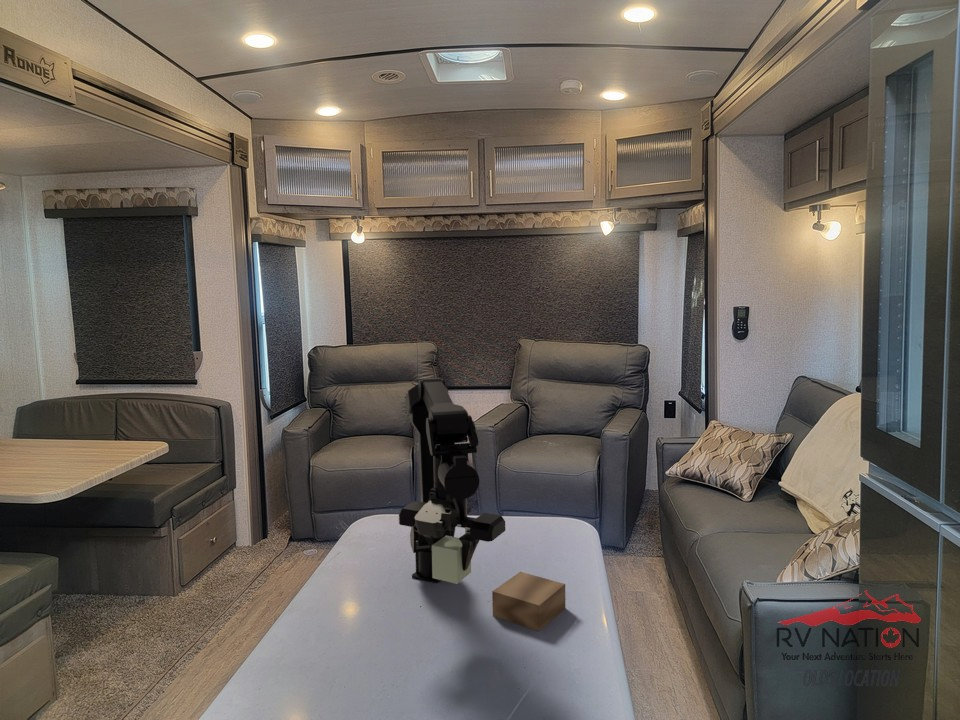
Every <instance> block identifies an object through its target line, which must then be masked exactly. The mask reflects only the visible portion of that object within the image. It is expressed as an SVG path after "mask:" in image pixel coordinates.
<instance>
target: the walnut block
mask: <svg viewBox="0 0 960 720" xmlns="http://www.w3.org/2000/svg"><path fill="white" fill-rule="evenodd" d="M491 594H492V596H491V597H492V617H495V618H498V619H501V620H504V621H507V622H510V623H514V624H516V625H519V626H522V627H525V628H529V629H532V630H534V631H538V632H540V631H541V630H542V629H544V628H545V627H546V626H547V625H548V624H549V623H551V622H552V621H554V619H555V618H556V617H557V616H558V615H559V614H561V613H562V612H563V611H564V610H565V609H566V583H563V582H560V581H556V580H552V579H549V578H545V577H542V576H541V577H540V576H537V575H534V574H530V573H527V572H523V571H519V572H518V573H516V574H515V575H513V576H512V577H511V578H509V579H507V580H506V581H504V582H503V583H502V584H501V585H499V586H498V587H496V588H495V589H493V590H492V592H491Z"/></svg>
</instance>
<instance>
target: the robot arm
mask: <svg viewBox="0 0 960 720" xmlns="http://www.w3.org/2000/svg"><path fill="white" fill-rule="evenodd" d="M405 409H406V414H407V415H409V421H410V423H411V425H412V426H413V428H414V429H415V431H416V433H417V440H418V442H417V443H418V466H419V486H420V491H419V492H420V501H418V500H415V501H412V502H411V503H409V504H408V505H406V506H404V507H402V508H401V509H400V511H399V512H398V524H399V525H400V526H405V527H410V532H409V533H410V534H409V540H410V543H409V544H410V548H411V550H412V553H413V554H415V572H414V573H412V574H411V577H412V579H416V580H422V581H427V582H431V583H435V584H438V583H440V582H441V581H442V580H438V579H434V578H432V545H433V544H435V543H436V542H437V541H439V540H440V539H442V538H443V537H445V536H452V537H455V535H456V534H455V533H456V528H463V529H465V530H464V532H465V533H464V534H463V535H461V536H459V537H458V538H459V540H460V541H461V543H462V567H463V570H464V571H465V570H467V569H468V566H469V564H470V561H471V562H472V559H473V555H474V553H475V551H476V548H477V546H478V545H479V542H480V541H483V542H487V543H489V542H493V541H494V540H495V539H497V538H498V537H500V536H501V535H502V534H503V533H504V532H505V531H506V520H505V518H504V517H503V516H502V515H500V514H494V513H488V512H483V513H482V514H480V515H479V516H477V517H471V516H468V514H470V513H471V511H472V507H471V506H469V505H468V499H469V498H470V497H473V495H475V493H476V492H478V491H477V490H478V488H479V486H480V477H479V473H478V471H477V470H476V469H475V468H474V466H473V465H472V464H471V463H470V461H469V454H477V453H478V446H479V443H480V442H479V439H478V433H477V429H476V428H477V427H476V425H475V421H474V420H473V417H472V416H471V415H469V413H468V411H467V409H465V407H464V406H462V405H460V404H459V405H458V404H456V403H453V400H452V398H451V395H450V394H449V389H448V387H447V386H446V381H445V378H441V377H431V378H430V377H427V378H426V377H425V378H422V379H419V380H418V383H417V384H416V385H415V386H413V387H412V388H410V389H408V390H407V394H406V399H405Z"/></svg>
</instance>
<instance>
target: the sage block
mask: <svg viewBox="0 0 960 720" xmlns="http://www.w3.org/2000/svg"><path fill="white" fill-rule="evenodd" d="M459 538H460V537H457V536H456V537H455V536H454V537H452V536H445V537H443V538H442V539H440V540H439V541H437V542H436V543H435V544H433V545H432V578H434V579H438V580H441V581H443V582H447V583H451V584H454V585H455V584H456V585H458V584H459V583H460V582H461V581H463V579H465V578H466V577H468V576H469V575H470V574H471V573H472V560H471V561H470V564H469V566H468V569H467V570H465V571H464V570H463V567H462V543H461V541H460V540H459Z"/></svg>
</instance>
